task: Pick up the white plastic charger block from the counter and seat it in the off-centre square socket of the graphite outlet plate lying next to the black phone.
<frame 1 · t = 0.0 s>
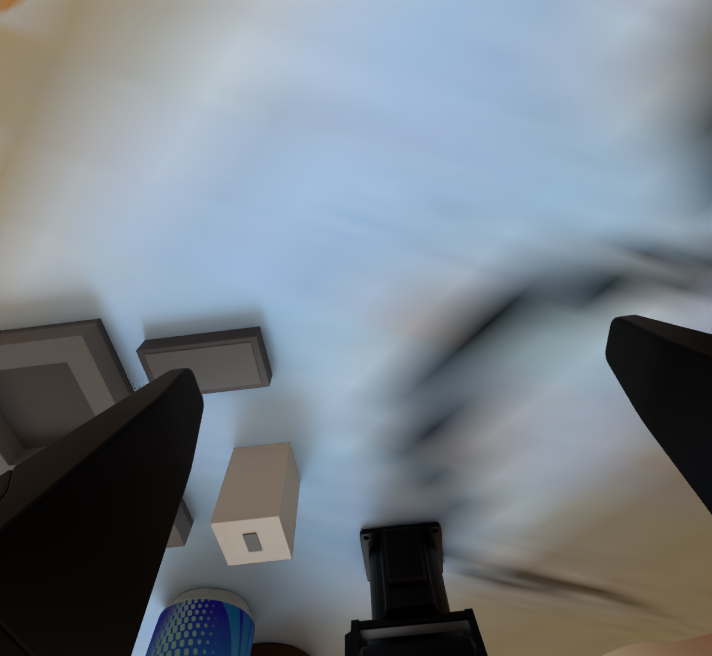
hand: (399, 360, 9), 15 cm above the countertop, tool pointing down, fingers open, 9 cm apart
beer can: (211, 607, 39), on the countertop
outlet plate: (53, 446, 29), on the countertop
charger: (267, 465, 31), on the countertop
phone: (210, 358, 26), on the countertop
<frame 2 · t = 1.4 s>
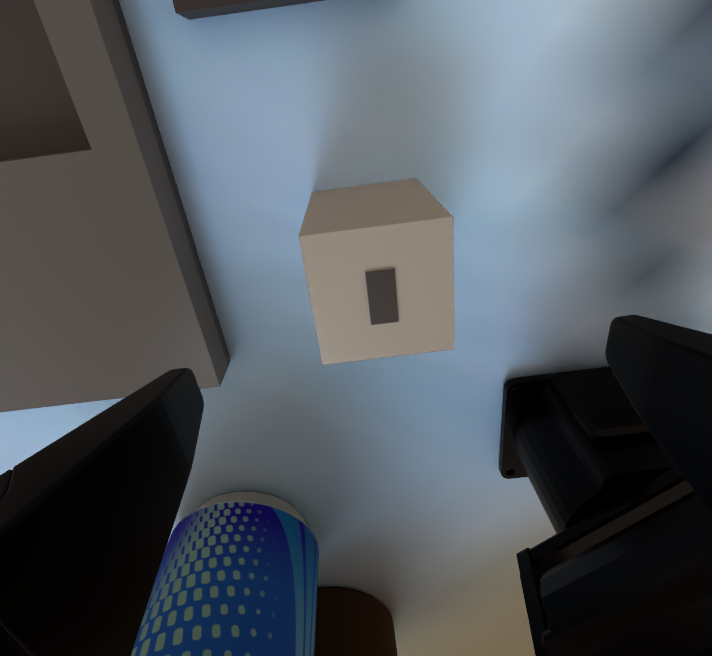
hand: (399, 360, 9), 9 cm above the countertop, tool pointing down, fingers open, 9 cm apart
beer can: (250, 527, 26), on the countertop
olive oil: (326, 620, 31), on the countertop
charger: (369, 236, 17), on the countertop
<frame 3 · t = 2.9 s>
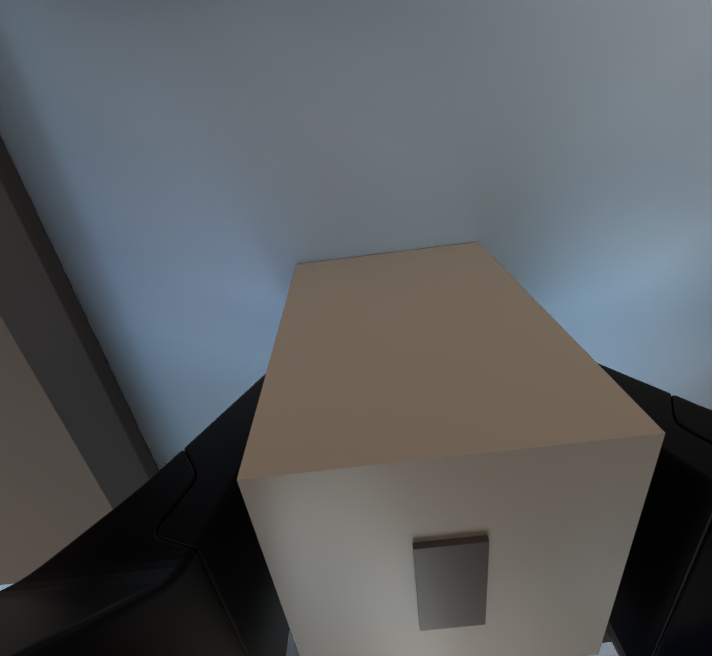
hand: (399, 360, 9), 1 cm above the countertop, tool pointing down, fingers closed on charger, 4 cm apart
charger: (393, 332, 10), on the countertop, touching gripper
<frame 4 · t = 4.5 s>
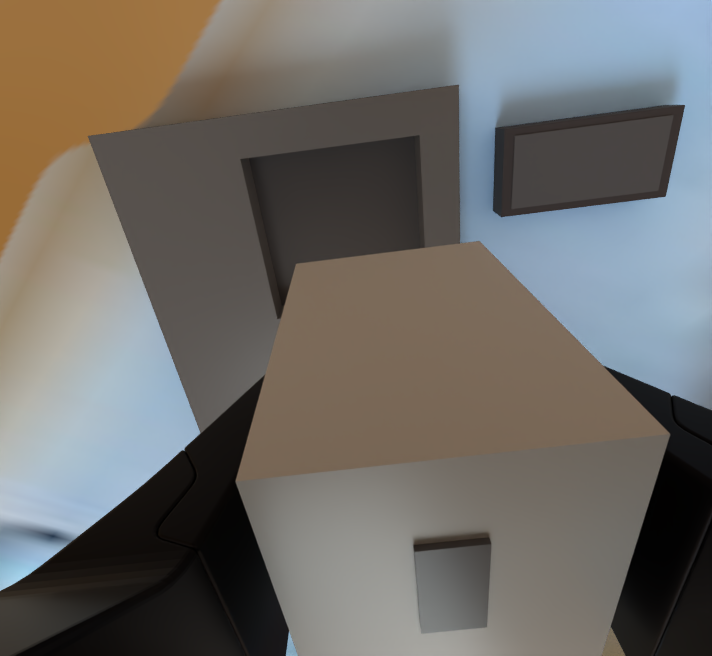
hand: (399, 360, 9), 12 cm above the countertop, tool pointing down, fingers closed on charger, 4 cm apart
outlet plate: (314, 306, 22), on the countertop
charger: (394, 332, 10), point 11 cm above the countertop, touching gripper
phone: (574, 160, 19), on the countertop
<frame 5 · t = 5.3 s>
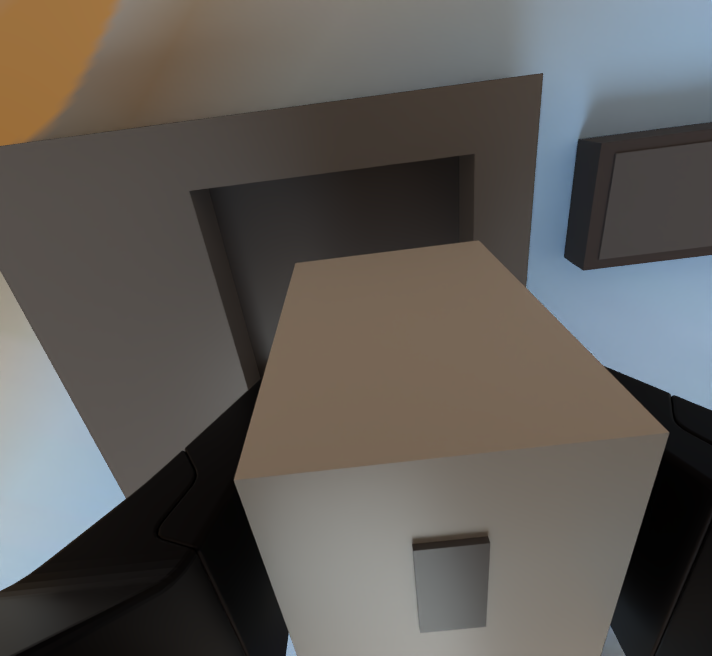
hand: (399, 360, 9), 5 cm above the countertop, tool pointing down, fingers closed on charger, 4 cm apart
outlet plate: (307, 383, 16), on the countertop
charger: (393, 331, 10), point 4 cm above the countertop, touching gripper
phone: (688, 187, 13), on the countertop
when the fingers open (2 cm above the countertop, at t = 6.2 s): charger stays where it is, resting on outlet plate.
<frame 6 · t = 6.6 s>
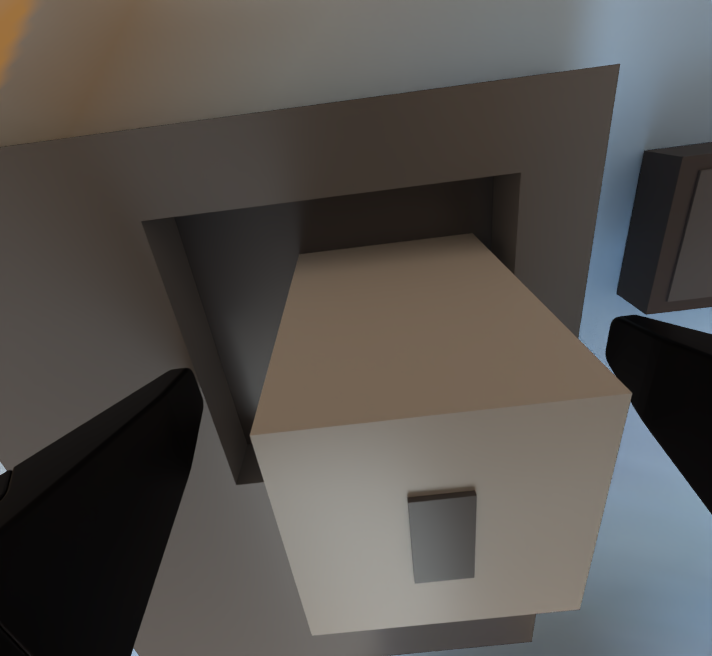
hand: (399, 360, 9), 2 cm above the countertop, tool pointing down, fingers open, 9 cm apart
outlet plate: (302, 439, 13), on the countertop
charger: (391, 320, 11), resting on outlet plate
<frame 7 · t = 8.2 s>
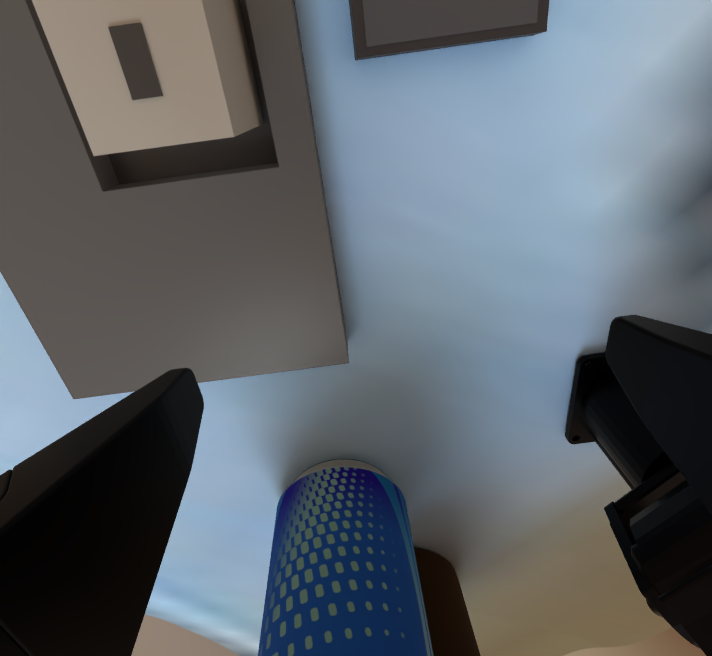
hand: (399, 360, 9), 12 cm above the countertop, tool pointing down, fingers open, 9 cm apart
beer can: (341, 493, 29), on the countertop
olive oil: (396, 579, 34), on the countertop
outlet plate: (162, 189, 19), on the countertop
charger: (200, 72, 16), resting on outlet plate
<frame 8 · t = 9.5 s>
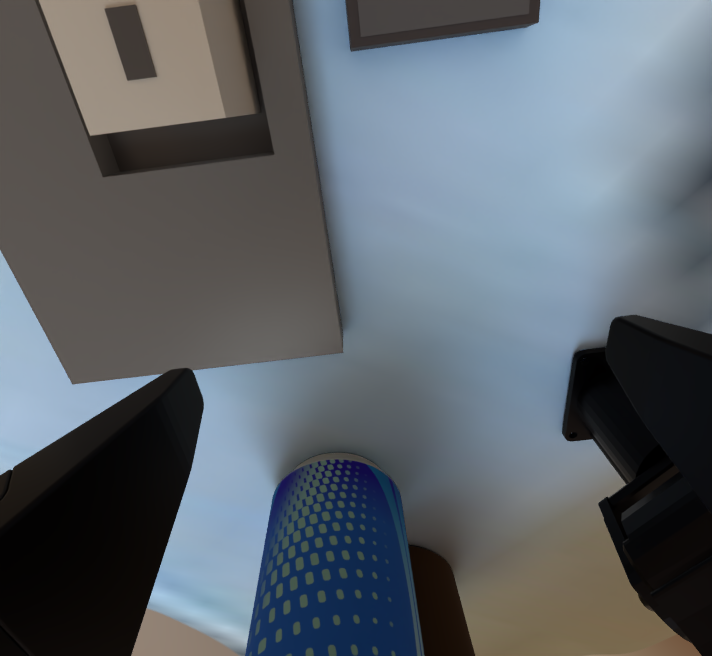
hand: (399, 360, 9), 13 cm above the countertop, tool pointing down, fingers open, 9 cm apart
beer can: (337, 487, 29), on the countertop
olive oil: (393, 578, 34), on the countertop
outlet plate: (162, 177, 19), on the countertop
charger: (199, 62, 17), resting on outlet plate
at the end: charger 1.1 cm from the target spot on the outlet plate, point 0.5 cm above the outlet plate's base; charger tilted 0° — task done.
